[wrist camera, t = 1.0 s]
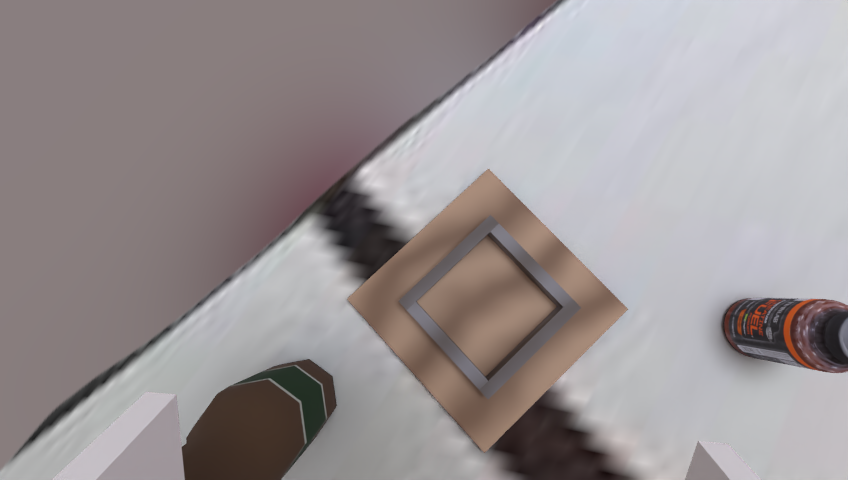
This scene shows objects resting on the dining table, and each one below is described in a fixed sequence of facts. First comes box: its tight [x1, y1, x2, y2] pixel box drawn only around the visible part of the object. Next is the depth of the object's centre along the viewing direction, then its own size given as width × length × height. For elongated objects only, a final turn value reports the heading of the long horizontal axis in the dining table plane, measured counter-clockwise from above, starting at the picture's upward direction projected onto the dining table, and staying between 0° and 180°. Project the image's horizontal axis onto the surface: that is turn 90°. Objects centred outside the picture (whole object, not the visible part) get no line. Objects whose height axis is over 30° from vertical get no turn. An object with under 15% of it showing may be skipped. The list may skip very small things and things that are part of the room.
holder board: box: [347, 169, 628, 453], centre depth 41 cm, size 20×20×3 cm
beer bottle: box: [182, 359, 337, 480], centre depth 29 cm, size 8×8×24 cm
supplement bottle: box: [724, 298, 848, 373], centre depth 36 cm, size 6×6×11 cm
